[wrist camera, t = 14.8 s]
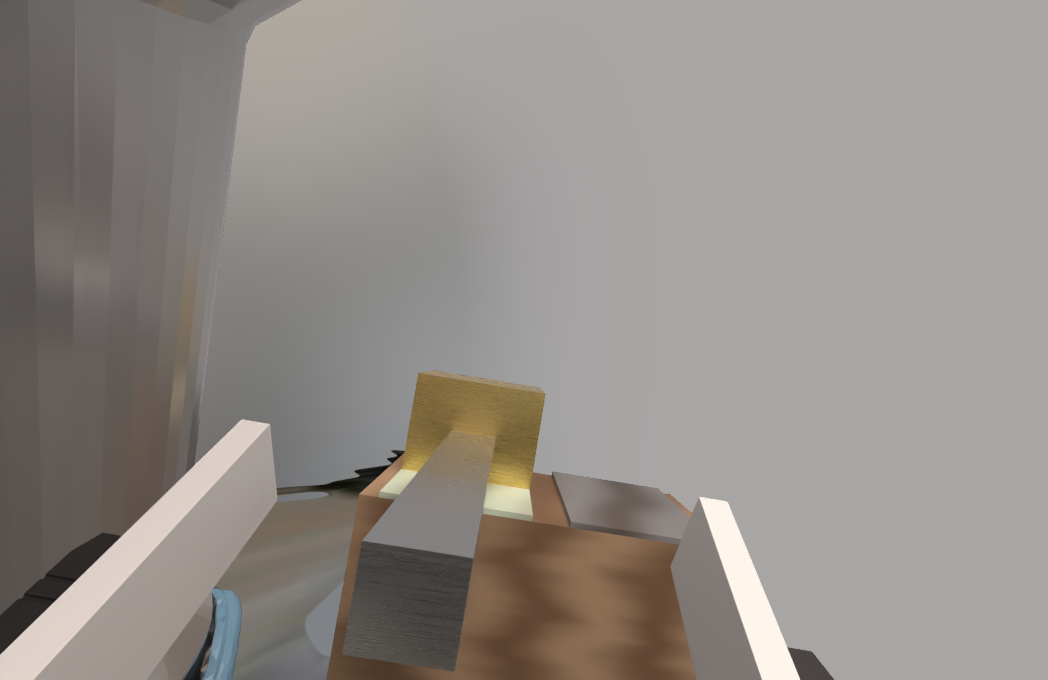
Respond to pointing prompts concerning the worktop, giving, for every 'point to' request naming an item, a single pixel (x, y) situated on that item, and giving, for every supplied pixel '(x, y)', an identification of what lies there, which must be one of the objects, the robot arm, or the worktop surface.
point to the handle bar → (439, 517)
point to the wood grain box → (551, 584)
